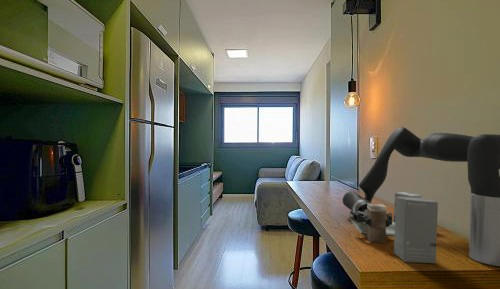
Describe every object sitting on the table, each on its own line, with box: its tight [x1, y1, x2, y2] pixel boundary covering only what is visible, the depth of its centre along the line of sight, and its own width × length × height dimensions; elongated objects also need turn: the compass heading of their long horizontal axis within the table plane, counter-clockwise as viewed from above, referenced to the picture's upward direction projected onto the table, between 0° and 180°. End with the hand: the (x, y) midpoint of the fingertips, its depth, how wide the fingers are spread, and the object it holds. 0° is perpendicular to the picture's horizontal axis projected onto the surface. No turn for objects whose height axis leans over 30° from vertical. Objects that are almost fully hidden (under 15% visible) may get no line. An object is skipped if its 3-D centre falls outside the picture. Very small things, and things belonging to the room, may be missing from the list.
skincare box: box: [393, 197, 439, 264], centre depth 79 cm, size 8×7×16 cm
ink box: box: [393, 191, 422, 223], centre depth 116 cm, size 8×5×12 cm, turn 17°
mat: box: [349, 218, 395, 237], centre depth 109 cm, size 16×18×1 cm
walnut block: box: [366, 203, 387, 244], centre depth 94 cm, size 4×4×11 cm
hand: (378, 223), depth 91 cm, fingers closed on walnut block, 4 cm apart
